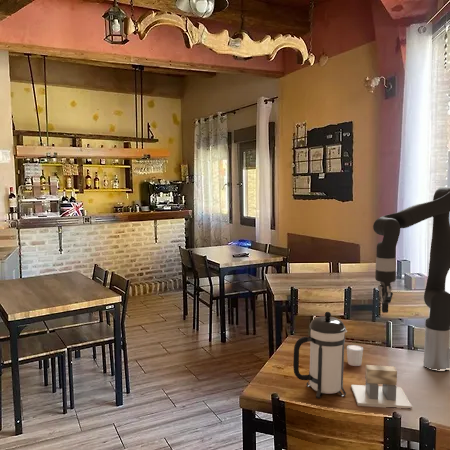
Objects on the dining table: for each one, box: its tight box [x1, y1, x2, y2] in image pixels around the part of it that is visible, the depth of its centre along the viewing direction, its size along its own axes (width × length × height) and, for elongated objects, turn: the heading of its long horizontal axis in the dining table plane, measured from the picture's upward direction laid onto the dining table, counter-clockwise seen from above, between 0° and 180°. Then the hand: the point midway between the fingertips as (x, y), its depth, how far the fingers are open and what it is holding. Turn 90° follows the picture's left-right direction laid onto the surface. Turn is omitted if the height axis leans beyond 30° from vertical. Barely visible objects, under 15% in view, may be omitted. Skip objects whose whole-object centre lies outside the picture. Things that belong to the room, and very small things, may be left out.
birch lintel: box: [364, 364, 398, 386], centre depth 157 cm, size 10×4×5 cm, turn 81°
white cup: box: [346, 344, 364, 367], centre depth 188 cm, size 7×7×7 cm
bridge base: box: [350, 380, 413, 409], centre depth 158 cm, size 18×14×6 cm
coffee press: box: [292, 311, 348, 399], centre depth 161 cm, size 17×16×30 cm
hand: (384, 312), depth 174 cm, fingers closed
